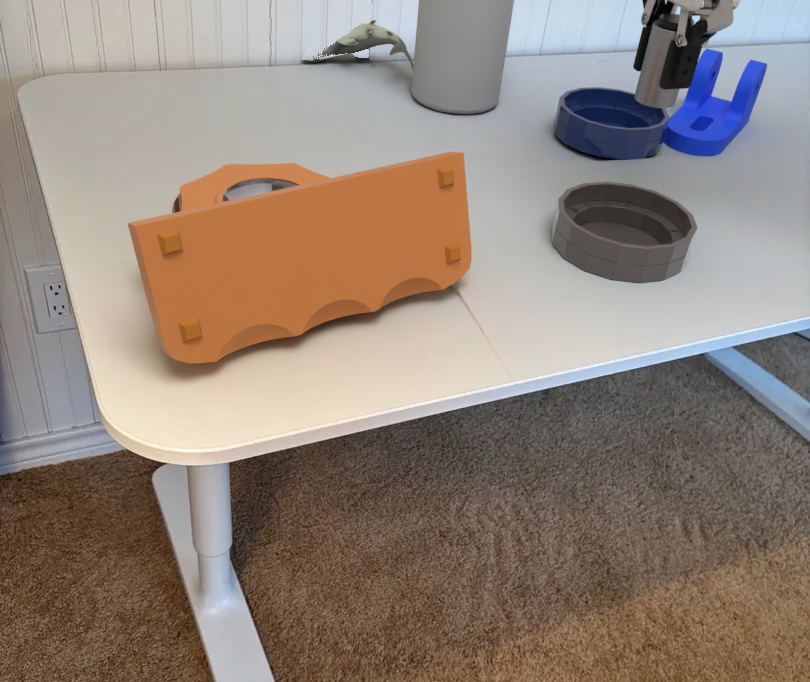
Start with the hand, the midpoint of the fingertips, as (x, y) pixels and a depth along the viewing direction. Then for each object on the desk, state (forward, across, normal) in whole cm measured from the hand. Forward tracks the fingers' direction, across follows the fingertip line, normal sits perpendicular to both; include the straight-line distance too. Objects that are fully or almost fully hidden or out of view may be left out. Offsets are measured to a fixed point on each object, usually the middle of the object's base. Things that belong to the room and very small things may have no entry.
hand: (661, 76), depth 80 cm
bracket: (+18, +25, -28) cm, 41 cm away
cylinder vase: (+17, +40, +4) cm, 44 cm away
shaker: (+2, 0, 0) cm, 2 cm away
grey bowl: (+17, -3, +2) cm, 18 cm away
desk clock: (+9, -11, +35) cm, 38 cm away
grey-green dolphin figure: (+12, +54, +16) cm, 57 cm away
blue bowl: (+17, +24, -12) cm, 32 cm away
